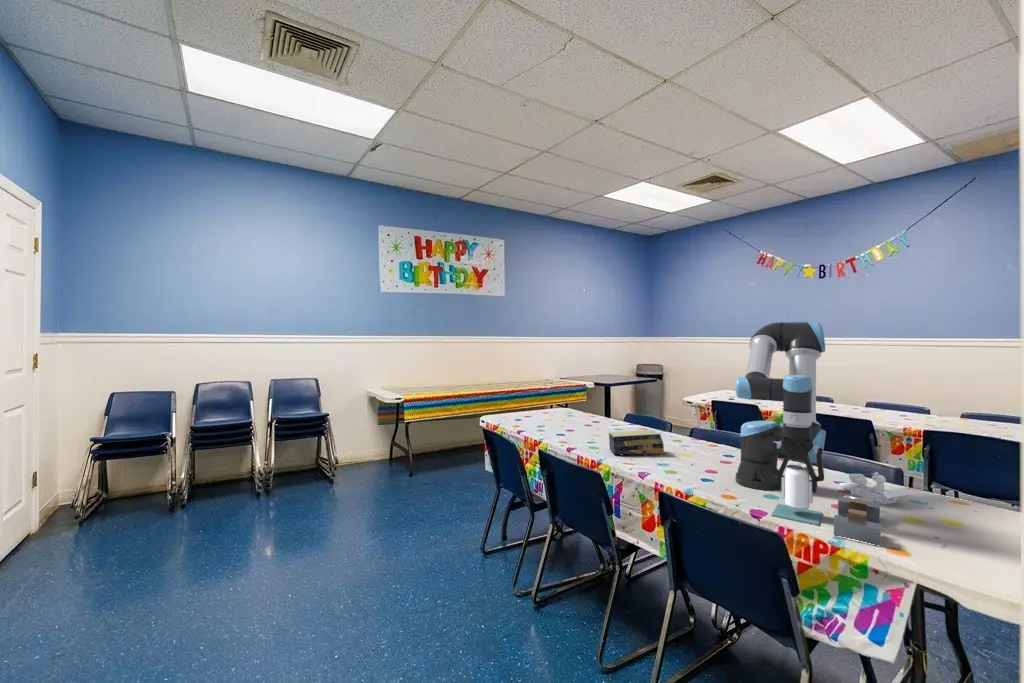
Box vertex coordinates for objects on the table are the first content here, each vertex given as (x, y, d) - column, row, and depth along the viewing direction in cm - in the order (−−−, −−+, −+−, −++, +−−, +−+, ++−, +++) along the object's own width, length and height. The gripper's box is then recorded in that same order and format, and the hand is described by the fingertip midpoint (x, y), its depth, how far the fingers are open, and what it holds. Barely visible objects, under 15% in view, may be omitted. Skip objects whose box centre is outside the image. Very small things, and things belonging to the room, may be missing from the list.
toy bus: (664, 455, 212) (663, 433, 212) (614, 458, 212) (613, 436, 212) (657, 450, 222) (656, 429, 222) (609, 452, 222) (608, 432, 222)
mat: (777, 504, 150) (777, 503, 150) (822, 513, 142) (822, 512, 142) (771, 515, 140) (771, 514, 140) (818, 525, 133) (818, 524, 133)
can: (779, 503, 143) (779, 465, 143) (794, 501, 145) (794, 463, 145) (799, 511, 137) (799, 471, 137) (814, 508, 139) (814, 468, 139)
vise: (840, 503, 151) (840, 485, 151) (879, 510, 145) (879, 491, 145) (833, 536, 126) (833, 514, 126) (880, 546, 119) (880, 524, 119)
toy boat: (850, 486, 169) (850, 462, 169) (912, 504, 150) (912, 477, 150) (828, 489, 165) (828, 464, 165) (889, 508, 146) (889, 481, 146)
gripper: (759, 423, 144) (759, 496, 144) (834, 431, 132) (834, 510, 132) (764, 420, 150) (763, 490, 150) (836, 427, 138) (836, 503, 138)
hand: (796, 499), depth 141 cm, fingers closed on can, 6 cm apart
